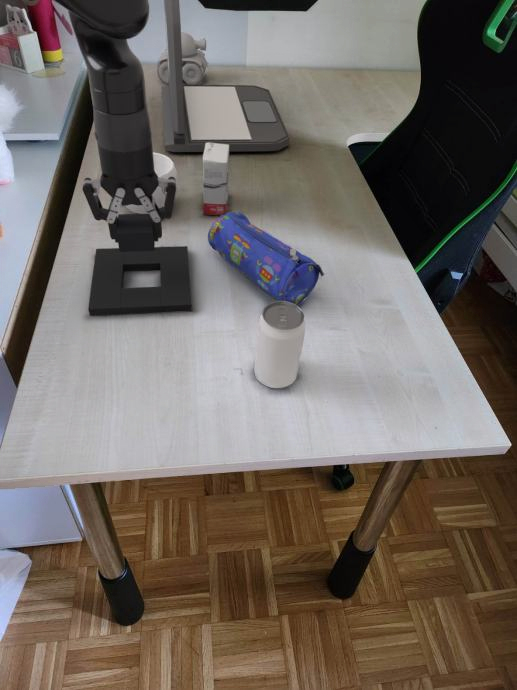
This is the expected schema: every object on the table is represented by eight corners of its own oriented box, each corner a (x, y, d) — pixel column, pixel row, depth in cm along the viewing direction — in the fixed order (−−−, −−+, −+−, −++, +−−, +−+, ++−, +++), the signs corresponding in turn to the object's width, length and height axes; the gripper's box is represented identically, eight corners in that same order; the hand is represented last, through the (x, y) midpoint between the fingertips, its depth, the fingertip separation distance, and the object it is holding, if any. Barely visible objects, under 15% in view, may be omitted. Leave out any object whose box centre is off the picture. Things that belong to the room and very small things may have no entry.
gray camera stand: (291, 154, 128) (307, 7, 106) (165, 155, 124) (155, 2, 101) (266, 95, 155) (275, -33, 132) (161, 94, 150) (152, -39, 127)
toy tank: (209, 75, 163) (209, 29, 154) (206, 88, 156) (205, 40, 146) (162, 72, 163) (159, 25, 153) (156, 84, 155) (153, 35, 146)
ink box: (226, 216, 107) (227, 162, 98) (202, 215, 107) (202, 161, 98) (228, 195, 113) (230, 142, 104) (206, 193, 113) (205, 141, 104)
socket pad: (89, 315, 84) (88, 309, 83) (97, 255, 95) (96, 248, 94) (191, 311, 86) (191, 304, 85) (187, 252, 97) (187, 246, 96)
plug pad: (119, 252, 82) (116, 233, 80) (120, 232, 86) (118, 214, 83) (154, 251, 83) (152, 232, 80) (154, 231, 87) (152, 213, 84)
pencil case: (320, 299, 90) (329, 255, 83) (285, 320, 86) (291, 274, 79) (239, 241, 101) (241, 197, 94) (204, 256, 97) (204, 211, 90)
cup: (190, 214, 107) (188, 170, 100) (136, 231, 101) (131, 186, 94) (160, 188, 113) (156, 145, 106) (108, 203, 107) (101, 159, 100)
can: (252, 388, 75) (258, 329, 67) (255, 356, 80) (260, 296, 71) (297, 391, 75) (308, 333, 67) (296, 359, 80) (307, 300, 71)
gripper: (175, 126, 76) (180, 225, 88) (73, 125, 74) (93, 227, 86) (177, 149, 70) (182, 251, 83) (67, 149, 68) (89, 254, 81)
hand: (136, 238), depth 84 cm, fingers closed on plug pad, 5 cm apart
